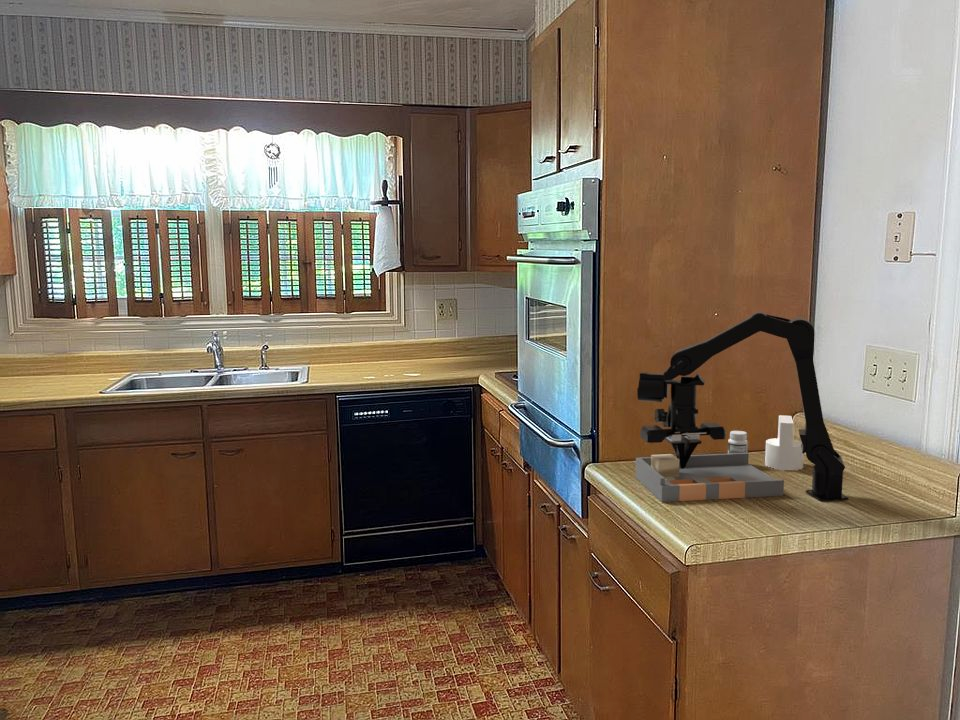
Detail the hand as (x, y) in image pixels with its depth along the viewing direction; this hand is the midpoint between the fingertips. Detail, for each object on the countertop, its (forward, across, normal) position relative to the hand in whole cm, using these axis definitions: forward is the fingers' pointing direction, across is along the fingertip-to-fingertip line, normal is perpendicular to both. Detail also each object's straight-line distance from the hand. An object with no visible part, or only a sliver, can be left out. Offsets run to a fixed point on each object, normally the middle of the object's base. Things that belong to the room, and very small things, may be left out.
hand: (682, 468), depth 176 cm
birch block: (+1, +4, 0) cm, 4 cm away
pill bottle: (+4, -20, -13) cm, 24 cm away
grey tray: (+4, -5, +3) cm, 7 cm away
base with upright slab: (+4, -31, -10) cm, 33 cm away
